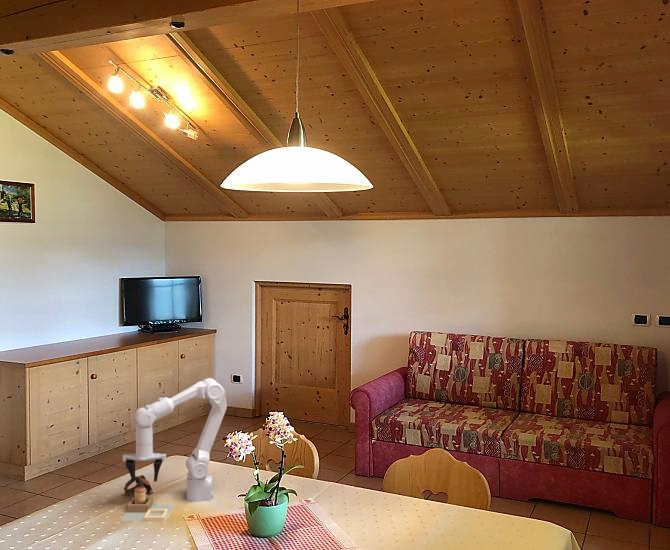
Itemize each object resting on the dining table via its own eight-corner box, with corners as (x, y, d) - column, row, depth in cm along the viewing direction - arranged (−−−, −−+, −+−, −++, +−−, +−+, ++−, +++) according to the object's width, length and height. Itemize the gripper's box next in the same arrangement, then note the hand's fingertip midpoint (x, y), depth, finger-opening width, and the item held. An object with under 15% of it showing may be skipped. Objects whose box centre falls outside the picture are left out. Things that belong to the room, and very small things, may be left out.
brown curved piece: (153, 501, 243) (142, 484, 241) (130, 512, 243) (118, 496, 241) (157, 481, 255) (146, 465, 252) (134, 492, 255) (123, 476, 252)
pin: (146, 506, 235) (146, 486, 235) (145, 510, 231) (145, 490, 231) (135, 506, 235) (135, 487, 234) (133, 511, 231) (133, 491, 230)
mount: (174, 507, 237) (174, 497, 237) (166, 524, 223) (166, 513, 223) (131, 507, 237) (131, 497, 236) (120, 524, 223) (120, 513, 223)
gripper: (120, 446, 230) (120, 485, 231) (163, 446, 231) (163, 484, 232) (125, 440, 237) (125, 477, 238) (167, 439, 238) (167, 477, 239)
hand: (144, 480), depth 236 cm, fingers open, 7 cm apart
